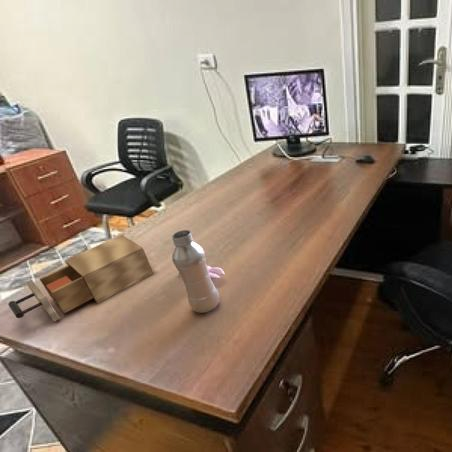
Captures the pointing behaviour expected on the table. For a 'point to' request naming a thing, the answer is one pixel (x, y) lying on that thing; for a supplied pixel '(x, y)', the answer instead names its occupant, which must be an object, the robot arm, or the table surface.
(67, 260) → the cabinet
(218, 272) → the rabbit figure
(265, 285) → the table surface
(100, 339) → the table surface
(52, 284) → the block
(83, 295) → the drawer
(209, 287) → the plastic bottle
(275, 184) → the table surface
